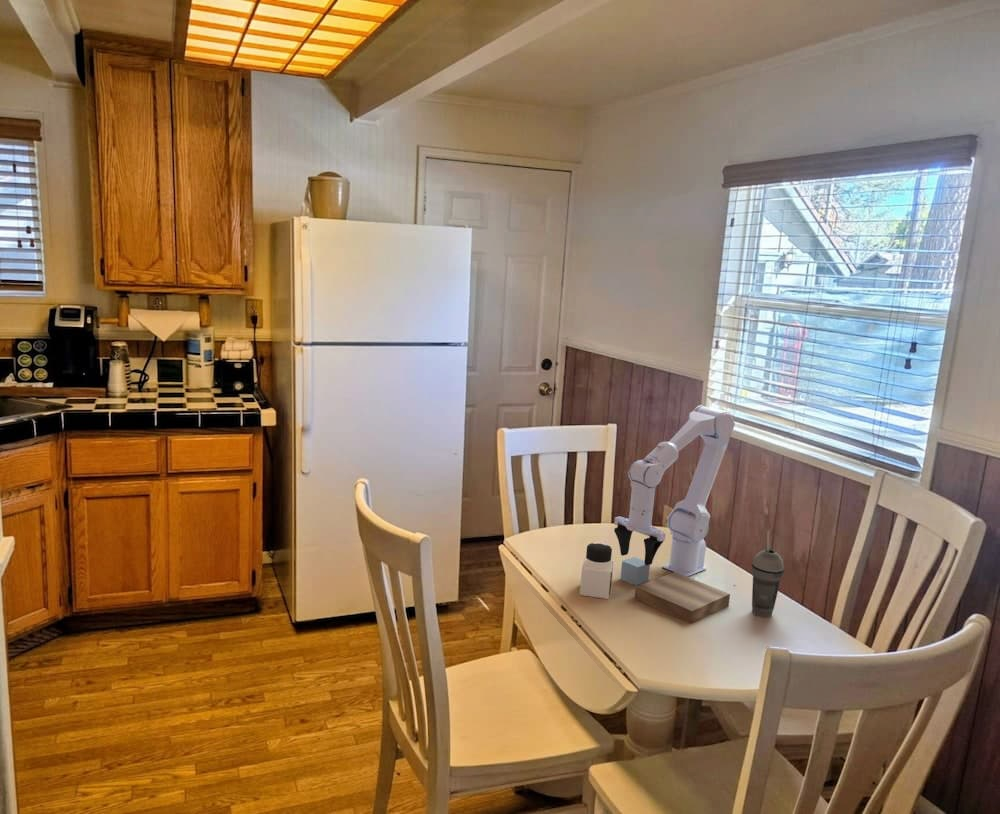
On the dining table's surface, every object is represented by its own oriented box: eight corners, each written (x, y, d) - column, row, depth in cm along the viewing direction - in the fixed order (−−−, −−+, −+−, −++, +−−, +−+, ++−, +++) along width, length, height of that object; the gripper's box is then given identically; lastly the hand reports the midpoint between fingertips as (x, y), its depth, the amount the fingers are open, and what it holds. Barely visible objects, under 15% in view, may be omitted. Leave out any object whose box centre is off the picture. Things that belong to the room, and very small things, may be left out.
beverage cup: (762, 622, 175) (773, 539, 171) (739, 609, 181) (749, 529, 178) (784, 617, 178) (796, 536, 175) (761, 604, 184) (771, 526, 181)
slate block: (632, 574, 198) (634, 556, 197) (648, 581, 194) (650, 563, 194) (620, 579, 195) (622, 560, 194) (636, 586, 191) (637, 567, 190)
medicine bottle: (609, 599, 182) (613, 552, 180) (579, 595, 183) (583, 548, 181) (611, 588, 189) (615, 542, 187) (582, 584, 190) (586, 538, 188)
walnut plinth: (673, 582, 194) (674, 571, 194) (728, 605, 183) (730, 593, 182) (634, 598, 184) (635, 586, 183) (690, 623, 172) (692, 610, 171)
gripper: (608, 503, 194) (604, 553, 196) (655, 519, 183) (649, 572, 186) (626, 498, 198) (621, 548, 201) (672, 514, 188) (666, 566, 190)
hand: (636, 559), depth 194 cm, fingers open, 7 cm apart
